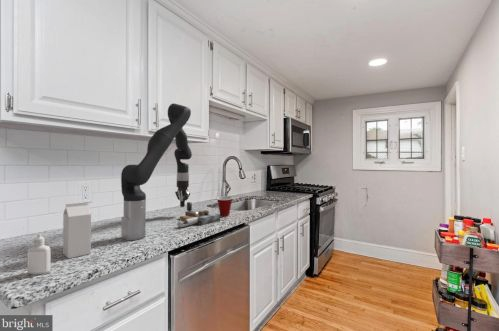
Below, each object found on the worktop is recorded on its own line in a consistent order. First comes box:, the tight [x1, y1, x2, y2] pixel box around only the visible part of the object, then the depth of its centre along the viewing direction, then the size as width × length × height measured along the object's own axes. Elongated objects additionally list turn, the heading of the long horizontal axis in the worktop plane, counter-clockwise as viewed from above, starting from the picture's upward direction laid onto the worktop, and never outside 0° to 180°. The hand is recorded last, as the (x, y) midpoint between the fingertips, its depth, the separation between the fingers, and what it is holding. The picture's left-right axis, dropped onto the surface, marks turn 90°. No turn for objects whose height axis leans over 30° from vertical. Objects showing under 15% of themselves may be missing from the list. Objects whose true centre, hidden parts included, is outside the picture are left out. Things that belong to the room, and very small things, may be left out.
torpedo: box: [176, 217, 198, 228], centre depth 139 cm, size 18×5×7 cm, turn 146°
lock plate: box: [179, 209, 221, 226], centre depth 151 cm, size 14×21×6 cm, turn 52°
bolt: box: [186, 201, 199, 216], centre depth 155 cm, size 3×10×7 cm, turn 52°
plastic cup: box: [216, 195, 234, 217], centre depth 166 cm, size 11×11×12 cm
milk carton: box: [62, 201, 92, 259], centre depth 94 cm, size 7×7×19 cm
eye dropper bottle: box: [26, 233, 51, 275], centre depth 78 cm, size 4×6×12 cm
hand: (182, 206), depth 161 cm, fingers closed
